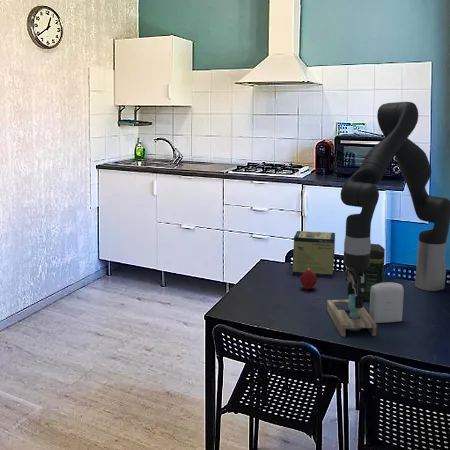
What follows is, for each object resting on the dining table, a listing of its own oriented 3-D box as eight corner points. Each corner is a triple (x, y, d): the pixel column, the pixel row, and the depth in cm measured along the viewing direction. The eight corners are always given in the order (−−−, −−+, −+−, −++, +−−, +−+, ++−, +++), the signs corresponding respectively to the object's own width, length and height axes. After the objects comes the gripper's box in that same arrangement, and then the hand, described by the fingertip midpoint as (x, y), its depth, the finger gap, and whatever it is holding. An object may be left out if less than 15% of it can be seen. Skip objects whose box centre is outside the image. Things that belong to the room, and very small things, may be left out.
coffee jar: (381, 303, 184) (384, 250, 180) (357, 300, 187) (359, 248, 183) (383, 293, 193) (386, 242, 189) (360, 291, 196) (362, 241, 192)
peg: (359, 323, 168) (360, 292, 166) (364, 330, 163) (365, 299, 161) (342, 324, 168) (343, 293, 166) (346, 331, 163) (348, 299, 161)
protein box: (332, 278, 210) (334, 239, 207) (292, 275, 214) (293, 236, 210) (334, 270, 220) (335, 232, 217) (295, 267, 224) (296, 230, 220)
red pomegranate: (317, 292, 195) (318, 270, 194) (301, 292, 196) (301, 270, 194) (315, 286, 201) (315, 265, 199) (299, 286, 201) (299, 265, 199)
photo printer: (371, 324, 168) (373, 286, 165) (366, 318, 172) (368, 281, 169) (404, 322, 169) (406, 284, 166) (398, 317, 173) (400, 279, 170)
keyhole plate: (357, 309, 179) (357, 299, 178) (375, 335, 160) (376, 324, 159) (327, 310, 179) (327, 300, 178) (341, 336, 159) (342, 325, 159)
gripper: (377, 257, 153) (374, 311, 157) (363, 243, 167) (360, 293, 171) (350, 257, 153) (348, 312, 157) (338, 244, 167) (336, 294, 171)
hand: (354, 302), depth 164 cm, fingers open, 8 cm apart
